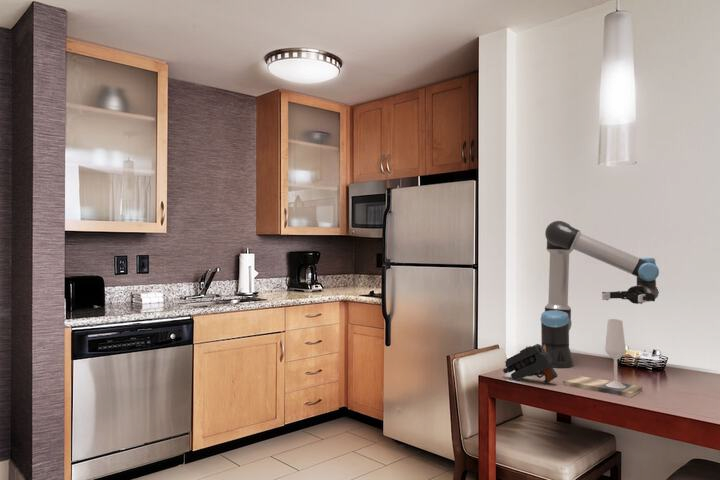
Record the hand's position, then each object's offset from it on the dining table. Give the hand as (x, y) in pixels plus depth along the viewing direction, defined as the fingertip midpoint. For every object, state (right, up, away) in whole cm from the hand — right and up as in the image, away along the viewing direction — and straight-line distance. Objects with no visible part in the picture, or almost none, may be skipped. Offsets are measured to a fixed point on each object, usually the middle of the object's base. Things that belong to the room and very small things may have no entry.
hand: (620, 297), depth 206 cm
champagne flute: (-11, -30, -19) cm, 37 cm away
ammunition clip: (-32, -33, +6) cm, 46 cm away
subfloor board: (-15, -32, -15) cm, 38 cm away
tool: (-38, -32, -4) cm, 50 cm away
